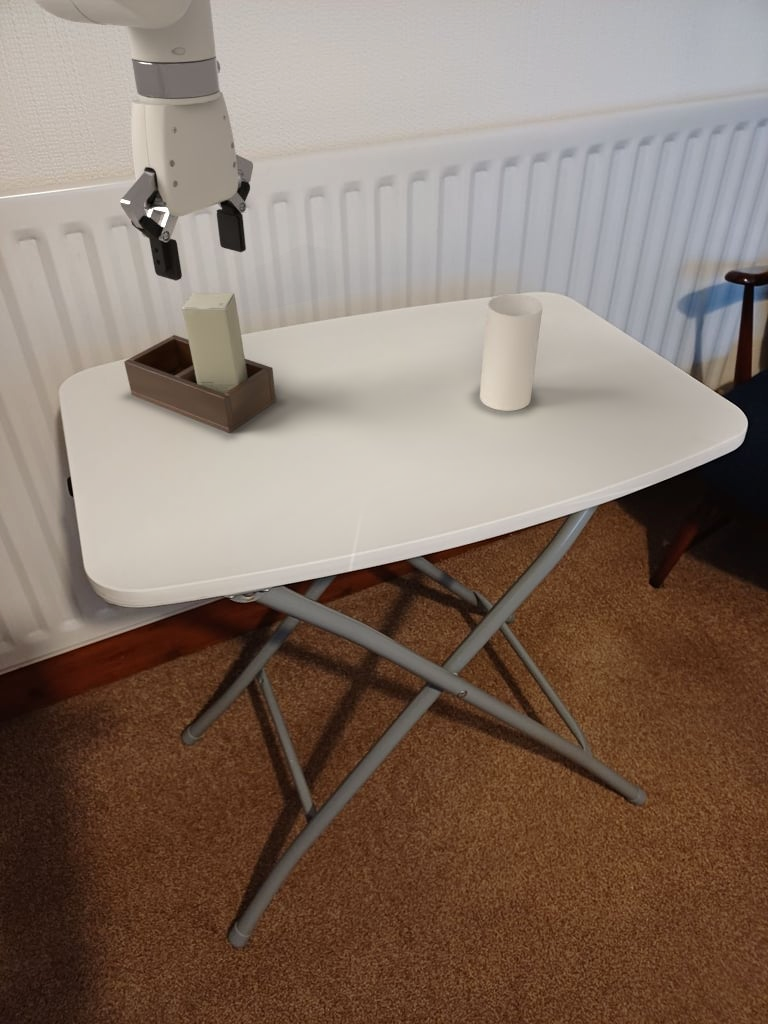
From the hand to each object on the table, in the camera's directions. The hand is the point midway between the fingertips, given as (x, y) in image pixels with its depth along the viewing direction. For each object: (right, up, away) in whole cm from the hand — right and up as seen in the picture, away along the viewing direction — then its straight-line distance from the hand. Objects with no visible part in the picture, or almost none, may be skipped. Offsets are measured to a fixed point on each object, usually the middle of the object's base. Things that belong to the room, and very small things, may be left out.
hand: (202, 262), depth 83 cm
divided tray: (-3, -12, +13) cm, 18 cm away
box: (0, -13, +11) cm, 17 cm away
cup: (+34, -13, +13) cm, 39 cm away
